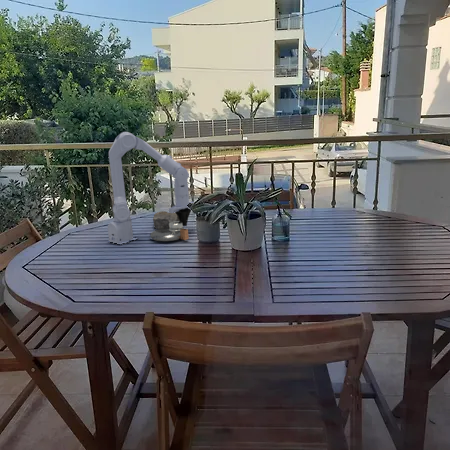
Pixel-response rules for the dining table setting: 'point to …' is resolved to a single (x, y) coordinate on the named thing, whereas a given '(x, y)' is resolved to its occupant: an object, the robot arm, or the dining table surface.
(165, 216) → the rock
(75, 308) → the dining table surface
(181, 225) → the cover
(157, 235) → the turntable
